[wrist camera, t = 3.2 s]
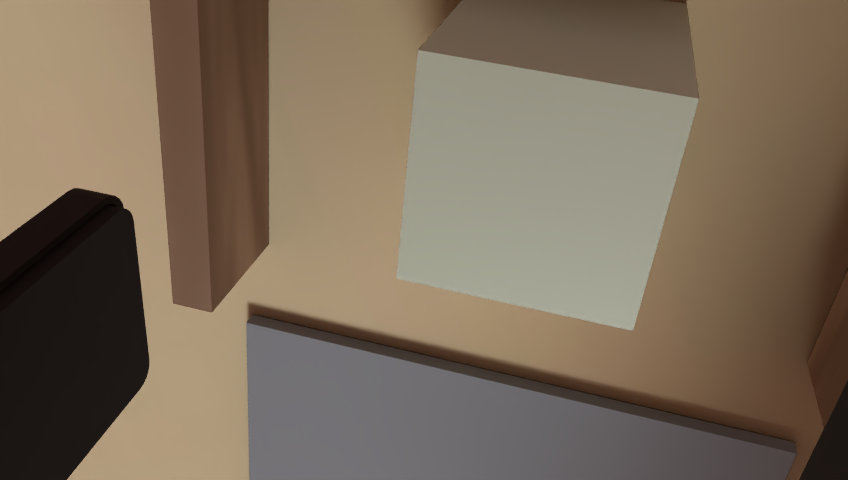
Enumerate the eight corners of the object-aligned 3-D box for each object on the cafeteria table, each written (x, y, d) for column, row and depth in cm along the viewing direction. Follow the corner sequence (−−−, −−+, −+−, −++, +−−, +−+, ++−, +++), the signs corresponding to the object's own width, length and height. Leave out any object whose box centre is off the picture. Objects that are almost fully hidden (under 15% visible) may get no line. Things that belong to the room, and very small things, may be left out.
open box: (1120, -198, 16) (1244, -192, 13) (850, 372, 24) (882, 471, 20) (219, -295, 19) (125, -311, 16) (234, 236, 27) (173, 303, 23)
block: (686, 3, 20) (699, 98, 14) (639, 185, 22) (632, 330, 16) (486, -28, 21) (417, 50, 15) (462, 151, 23) (396, 278, 17)
